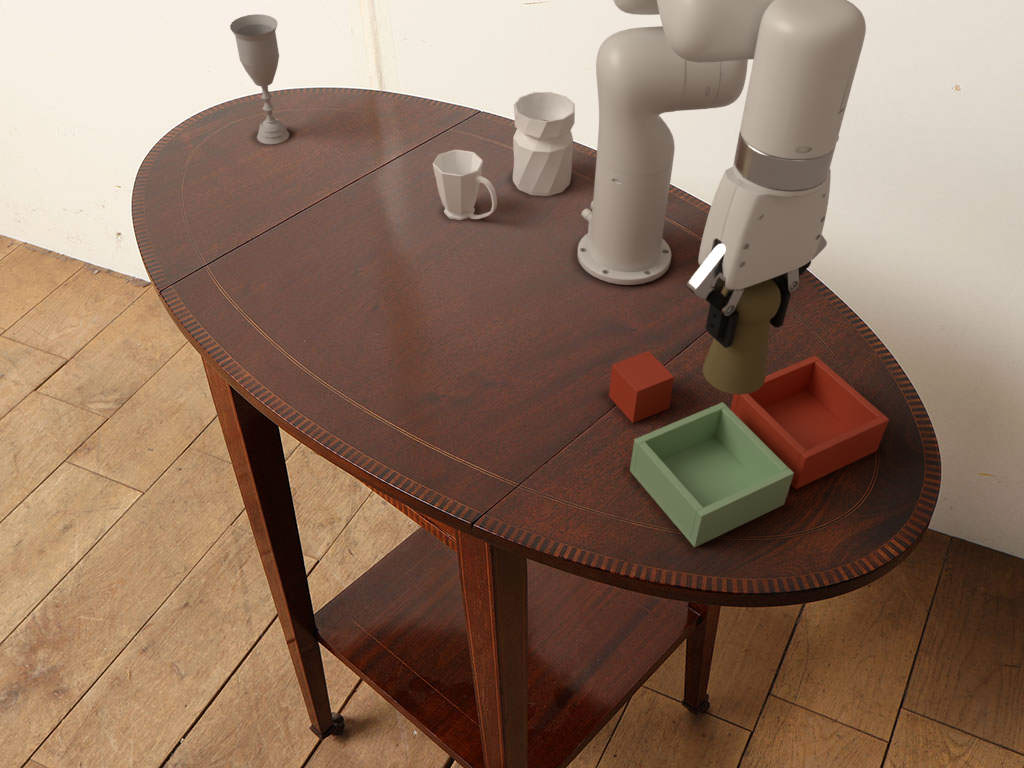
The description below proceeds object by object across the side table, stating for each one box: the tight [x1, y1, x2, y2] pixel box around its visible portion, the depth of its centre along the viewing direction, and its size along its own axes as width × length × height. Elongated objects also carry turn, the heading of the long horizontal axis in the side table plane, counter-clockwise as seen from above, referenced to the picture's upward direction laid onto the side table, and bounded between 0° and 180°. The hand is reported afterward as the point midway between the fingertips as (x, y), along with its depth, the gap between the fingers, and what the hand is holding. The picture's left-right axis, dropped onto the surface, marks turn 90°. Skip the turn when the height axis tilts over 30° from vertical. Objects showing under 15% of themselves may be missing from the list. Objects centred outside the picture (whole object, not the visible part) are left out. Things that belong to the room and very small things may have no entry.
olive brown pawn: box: [702, 279, 781, 395], centre depth 92 cm, size 6×6×11 cm
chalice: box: [229, 13, 290, 145], centre depth 149 cm, size 7×7×18 cm
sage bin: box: [629, 401, 794, 548], centre depth 103 cm, size 12×12×5 cm
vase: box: [512, 91, 576, 197], centre depth 143 cm, size 9×9×12 cm
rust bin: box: [729, 355, 890, 490], centre depth 108 cm, size 12×12×5 cm
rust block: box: [608, 350, 675, 424], centre depth 112 cm, size 5×5×5 cm
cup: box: [432, 149, 498, 221], centre depth 138 cm, size 7×10×8 cm
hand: (744, 326), depth 92 cm, fingers closed on olive brown pawn, 5 cm apart
